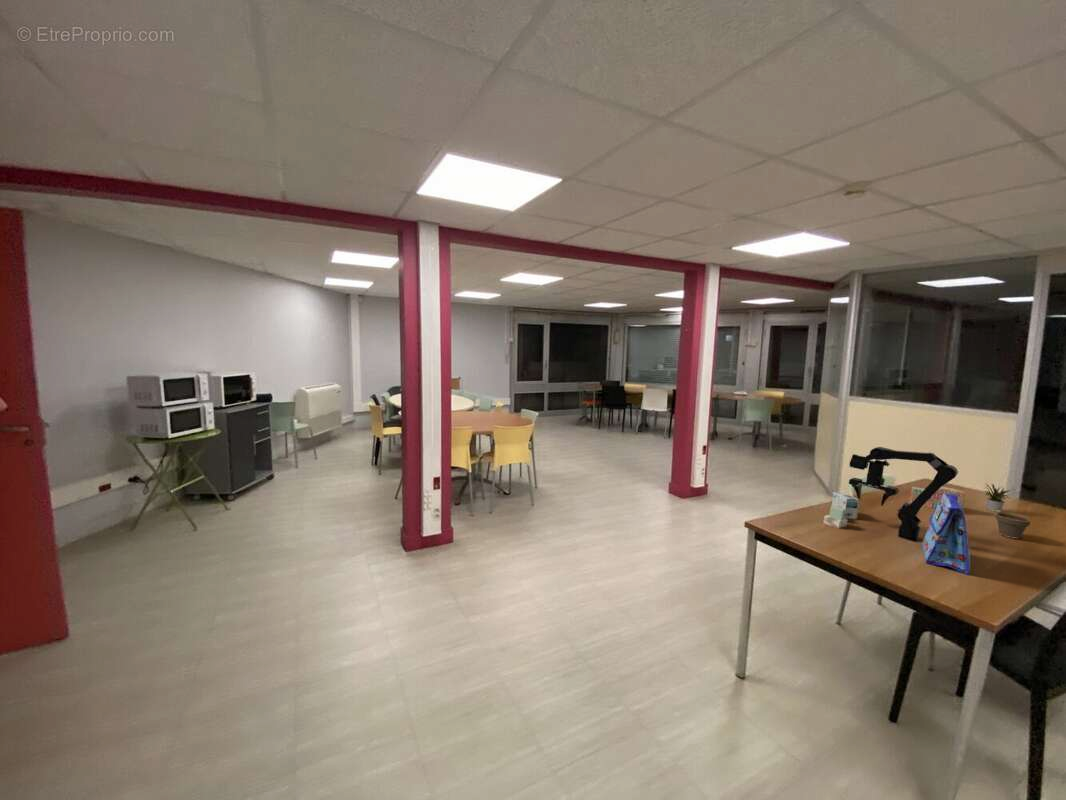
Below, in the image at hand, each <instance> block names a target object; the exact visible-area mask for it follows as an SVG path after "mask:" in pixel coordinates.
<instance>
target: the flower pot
mask: <svg viewBox="0 0 1066 800" xmlns="http://www.w3.org/2000/svg"><path fill="white" fill-rule="evenodd" d="M994 517H995V520H997V526H998V532H999V534H1000V533H1001V534H1003V535H1006V536H1010V537H1017V538H1019V537H1020V538H1021V537H1022V536H1023V534H1024V532H1025V530H1026V529H1027V527H1029V526H1030V525H1031V520H1030V519H1028V518H1026V517H1023V516H1020V515H1016V514H1011V513H1005V512H995V516H994ZM1020 538H1019V539H1020Z"/></svg>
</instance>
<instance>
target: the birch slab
mask: <svg viewBox="0 0 1066 800" xmlns="http://www.w3.org/2000/svg"><path fill="white" fill-rule="evenodd" d="M848 519H849V518H844V519H843V520H841V521H840V520H837V519H833V518H830V517H829V514H827V515H824V517H823V524H825V525H828V526H831V527H834V528H836V529H842V528H847V526H848V525H847V524H848Z"/></svg>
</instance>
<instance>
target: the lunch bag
mask: <svg viewBox="0 0 1066 800" xmlns="http://www.w3.org/2000/svg"><path fill="white" fill-rule="evenodd" d="M958 496H959V495H956V494H952V493H950V494H946V493H943V494H942V497H941V499H940V501H939V503H938V505H937V507H936V509H934V510H933V512H932V513H931V515H930V517H929V526H928V529H927V531H926V533H925V535H924V538H923V541H922V543H921V546H922V550H923V554H924V558H925V559H924V560H925V563H926V564H928V565H930V566H931V565H932V566H933V565H936V566H942V567H946V566H947V567H949V568H951V569H953V570H955V571H958V572H959V573H962V574H964V573H965V574H964V575H969V574H970V569H971V554H970V544H969V543H970V542H969V536H968V529H967V522H966V515H965V512H964V510H963V508H961V507H960V506H959V504H958V503H957V500H958Z"/></svg>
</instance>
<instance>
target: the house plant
mask: <svg viewBox="0 0 1066 800" xmlns="http://www.w3.org/2000/svg"><path fill="white" fill-rule="evenodd" d="M983 487H984V488H985V489H987V490H986V491H983V493H985V496H988V497H987V498H986V509H987V508H988V509H992V510H1001V511H1002V509H1003V506H1004V505H1005V503H1006V502H1005V500H1006V499H1008V498H1009V499H1010V496H1008V495H1007V493H1008V492H1011V491H1014V490H1017V489H1016V488H1015V489H1013V488H1012V489H1009V490H1007V489H1006V488H1005V486H1003V488H1002V486H999V487H998V488H996V486H995V484H993V483H991V487H992V488H991V487H990V486H989V485H988V484H985V485H983ZM1001 488H1002V489H1001ZM992 489H993V490H992ZM1000 489H1001V490H1000ZM1005 489H1006V490H1005ZM999 490H1000V492H999ZM1005 494H1006V495H1005Z"/></svg>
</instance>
